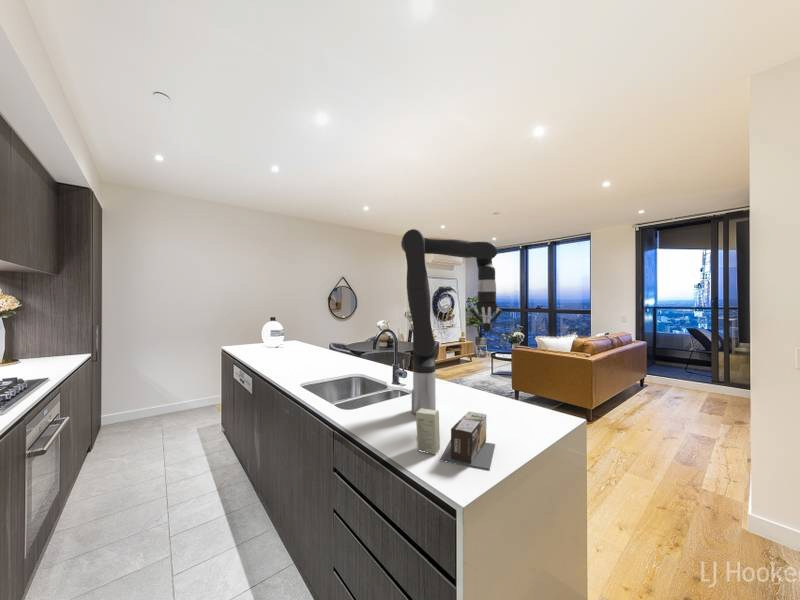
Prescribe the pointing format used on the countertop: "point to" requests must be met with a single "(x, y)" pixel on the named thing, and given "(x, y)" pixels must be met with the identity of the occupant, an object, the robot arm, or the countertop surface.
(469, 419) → the coffee box
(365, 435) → the countertop surface
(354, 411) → the countertop surface
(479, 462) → the mat
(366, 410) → the countertop surface
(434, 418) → the skincare box
